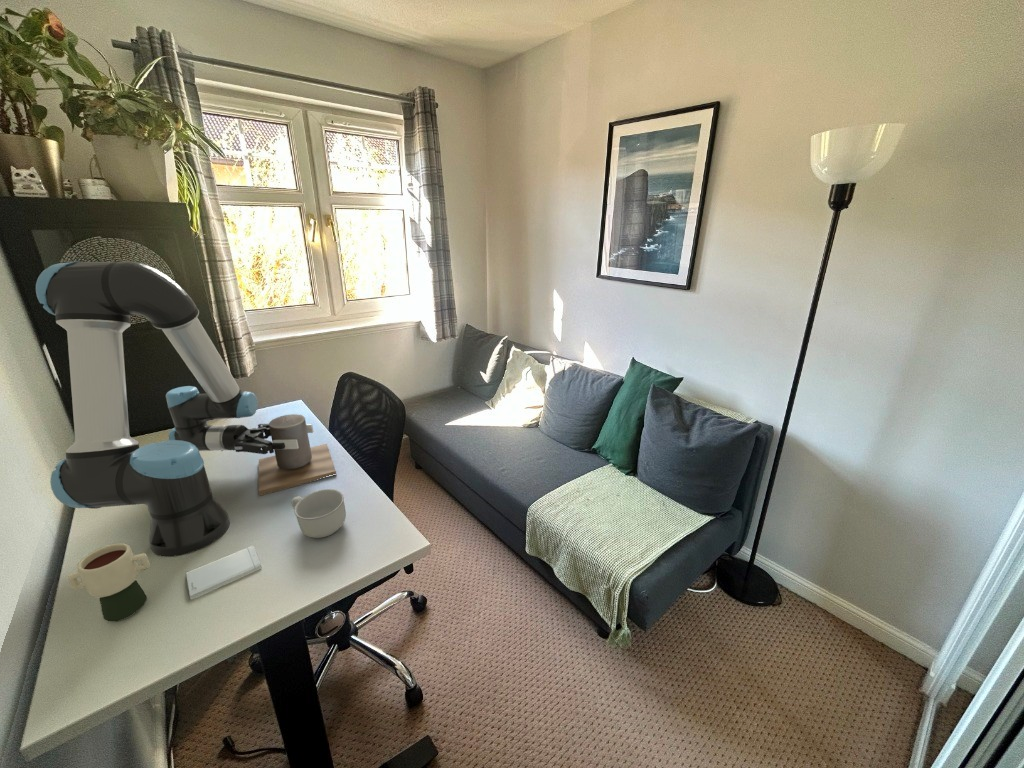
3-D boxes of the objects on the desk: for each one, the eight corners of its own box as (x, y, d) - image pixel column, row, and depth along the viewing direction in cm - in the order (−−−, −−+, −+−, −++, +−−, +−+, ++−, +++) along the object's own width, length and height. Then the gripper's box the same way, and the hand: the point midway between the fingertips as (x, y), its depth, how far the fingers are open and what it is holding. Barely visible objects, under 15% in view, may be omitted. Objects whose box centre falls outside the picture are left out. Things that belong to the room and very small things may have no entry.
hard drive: (189, 596, 80) (260, 564, 88) (185, 571, 86) (252, 544, 94) (191, 602, 81) (262, 570, 89) (187, 577, 87) (254, 549, 94)
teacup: (357, 524, 102) (353, 496, 99) (318, 551, 93) (312, 522, 90) (321, 506, 108) (316, 480, 106) (282, 530, 100) (276, 503, 97)
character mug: (166, 585, 84) (147, 534, 80) (159, 611, 78) (138, 557, 74) (95, 608, 79) (70, 554, 74) (82, 638, 73) (54, 581, 69)
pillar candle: (269, 466, 123) (259, 421, 117) (295, 450, 131) (286, 408, 126) (295, 472, 120) (285, 426, 114) (319, 456, 128) (312, 412, 123)
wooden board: (336, 475, 123) (335, 471, 122) (259, 495, 113) (258, 490, 113) (327, 447, 139) (326, 443, 139) (259, 463, 130) (258, 459, 129)
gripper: (252, 432, 134) (321, 430, 134) (207, 468, 113) (290, 466, 113) (247, 411, 131) (318, 409, 132) (200, 444, 110) (284, 442, 111)
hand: (305, 435), depth 123 cm, fingers closed on pillar candle, 10 cm apart
